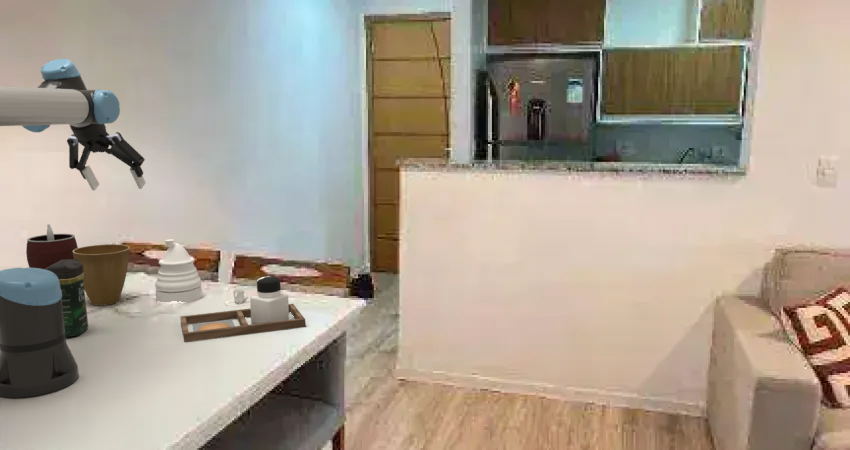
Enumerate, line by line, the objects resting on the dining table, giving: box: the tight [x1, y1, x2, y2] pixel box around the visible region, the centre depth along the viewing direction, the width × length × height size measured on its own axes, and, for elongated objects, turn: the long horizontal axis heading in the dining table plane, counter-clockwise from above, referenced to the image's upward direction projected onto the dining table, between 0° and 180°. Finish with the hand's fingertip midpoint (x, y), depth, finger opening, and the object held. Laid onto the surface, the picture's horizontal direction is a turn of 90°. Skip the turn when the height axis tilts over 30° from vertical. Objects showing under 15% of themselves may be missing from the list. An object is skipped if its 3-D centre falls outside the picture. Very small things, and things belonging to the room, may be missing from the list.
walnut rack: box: [179, 303, 306, 343], centre depth 174 cm, size 15×30×2 cm, turn 112°
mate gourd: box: [26, 223, 79, 269], centre depth 207 cm, size 16×14×20 cm
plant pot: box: [73, 243, 131, 306], centre depth 195 cm, size 15×15×16 cm
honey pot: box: [154, 238, 203, 304], centre depth 198 cm, size 13×13×18 cm
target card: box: [191, 319, 235, 331], centre depth 171 cm, size 10×10×1 cm
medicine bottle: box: [249, 275, 290, 324], centre depth 176 cm, size 7×7×12 cm
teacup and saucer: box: [224, 288, 250, 307], centre depth 195 cm, size 9×8×4 cm
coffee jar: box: [45, 259, 89, 339], centre depth 167 cm, size 10×8×19 cm
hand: (119, 186), depth 181 cm, fingers open, 13 cm apart
